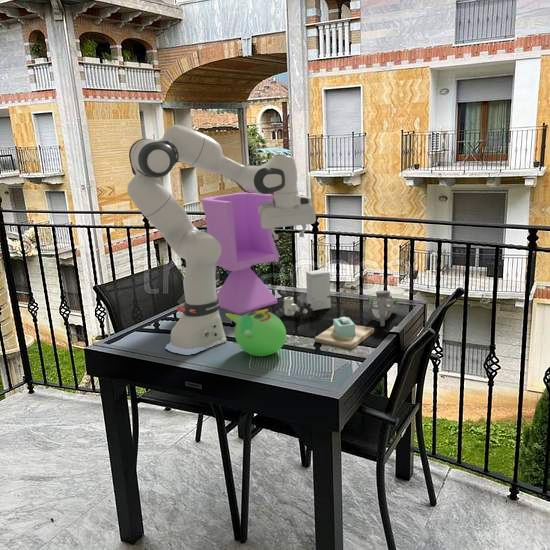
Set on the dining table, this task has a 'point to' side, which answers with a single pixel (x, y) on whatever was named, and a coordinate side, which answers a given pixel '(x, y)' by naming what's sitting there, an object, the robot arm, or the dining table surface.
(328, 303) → the skincare box
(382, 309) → the mechanical component
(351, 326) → the teal collar
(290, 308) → the valve
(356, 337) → the oak plate
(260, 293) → the chair
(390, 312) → the pipe fitting
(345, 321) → the steel key shaft
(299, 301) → the dining table surface
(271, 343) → the toy bird
